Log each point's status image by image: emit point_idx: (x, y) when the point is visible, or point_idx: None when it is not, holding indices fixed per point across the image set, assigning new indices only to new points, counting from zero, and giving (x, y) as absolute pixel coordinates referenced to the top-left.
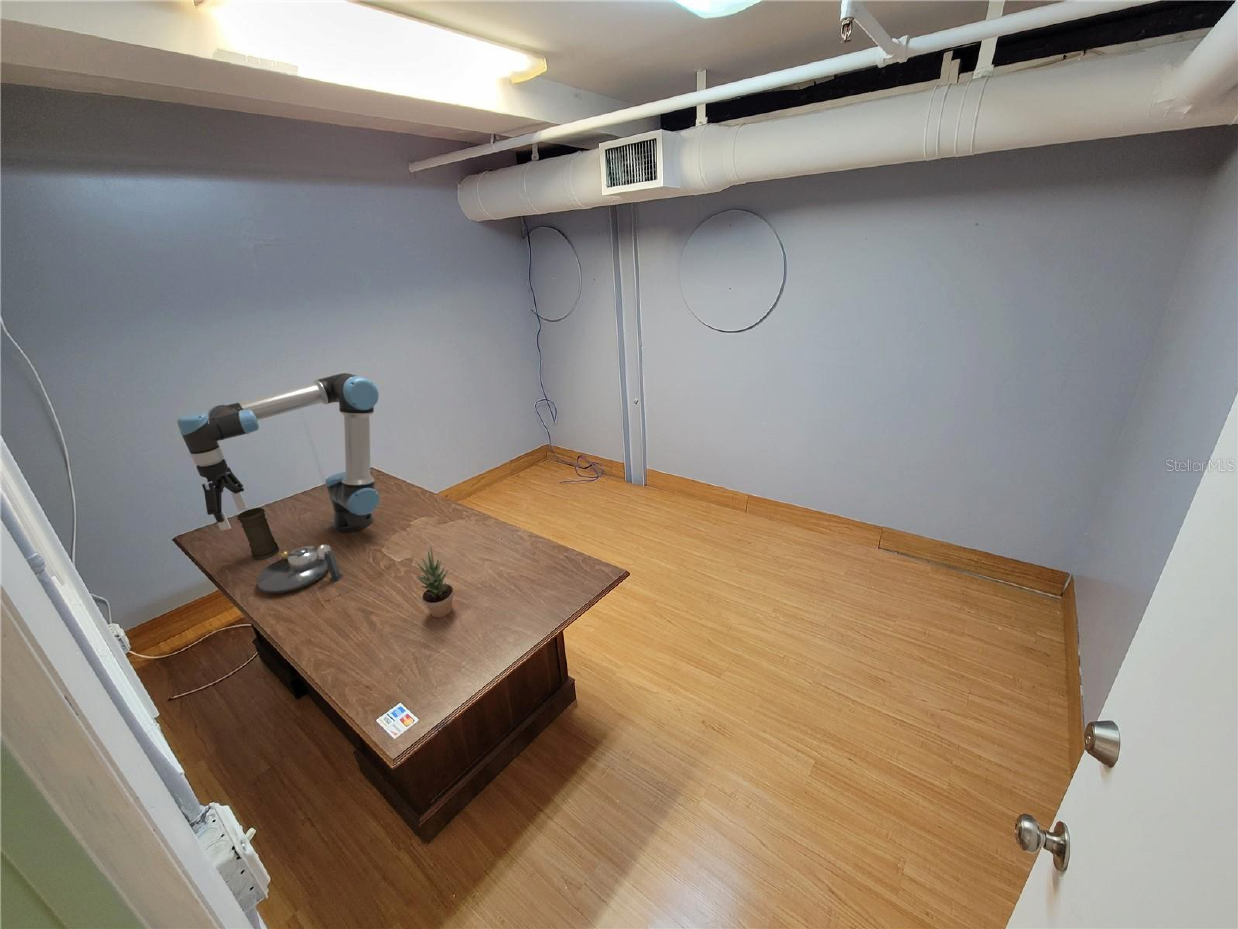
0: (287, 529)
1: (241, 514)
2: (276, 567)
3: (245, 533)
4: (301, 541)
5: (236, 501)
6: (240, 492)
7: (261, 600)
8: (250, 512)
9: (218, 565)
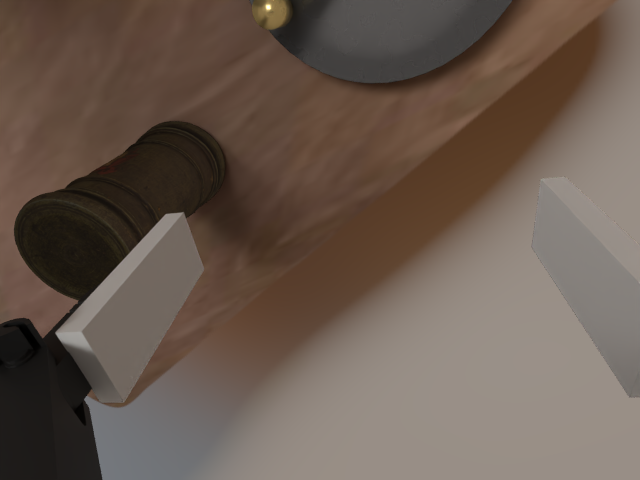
0: (25, 163)
1: None
2: (343, 25)
3: None
4: (95, 57)
5: (160, 316)
6: (62, 336)
7: (530, 6)
8: (69, 259)
9: (249, 277)
